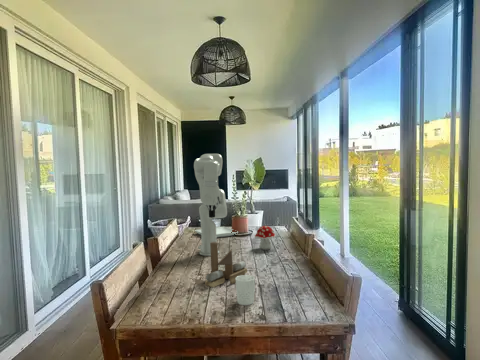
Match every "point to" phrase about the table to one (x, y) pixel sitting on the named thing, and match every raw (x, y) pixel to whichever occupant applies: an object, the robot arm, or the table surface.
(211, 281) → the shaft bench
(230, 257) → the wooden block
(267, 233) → the decorative mushroom
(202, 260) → the table surface
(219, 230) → the square plate
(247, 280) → the white cup
